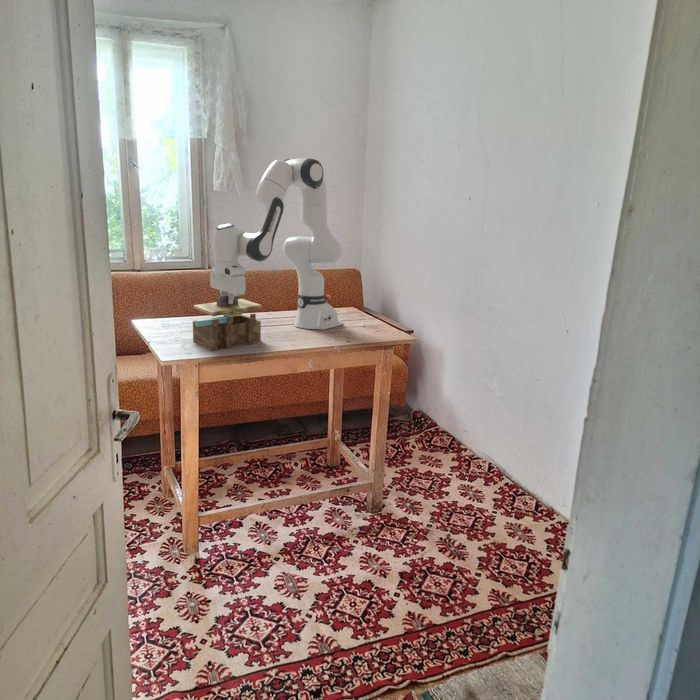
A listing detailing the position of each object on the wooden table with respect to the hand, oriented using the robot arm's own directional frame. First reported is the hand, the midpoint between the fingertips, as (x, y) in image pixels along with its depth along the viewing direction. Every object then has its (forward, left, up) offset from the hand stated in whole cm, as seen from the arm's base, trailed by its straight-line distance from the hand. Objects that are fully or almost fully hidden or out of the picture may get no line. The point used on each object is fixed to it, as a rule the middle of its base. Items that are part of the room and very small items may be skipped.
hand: (227, 302), depth 233 cm
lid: (0, +1, -3) cm, 3 cm away
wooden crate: (+1, +2, -15) cm, 15 cm away
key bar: (+12, +9, -5) cm, 16 cm away
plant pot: (-14, -18, -15) cm, 27 cm away
